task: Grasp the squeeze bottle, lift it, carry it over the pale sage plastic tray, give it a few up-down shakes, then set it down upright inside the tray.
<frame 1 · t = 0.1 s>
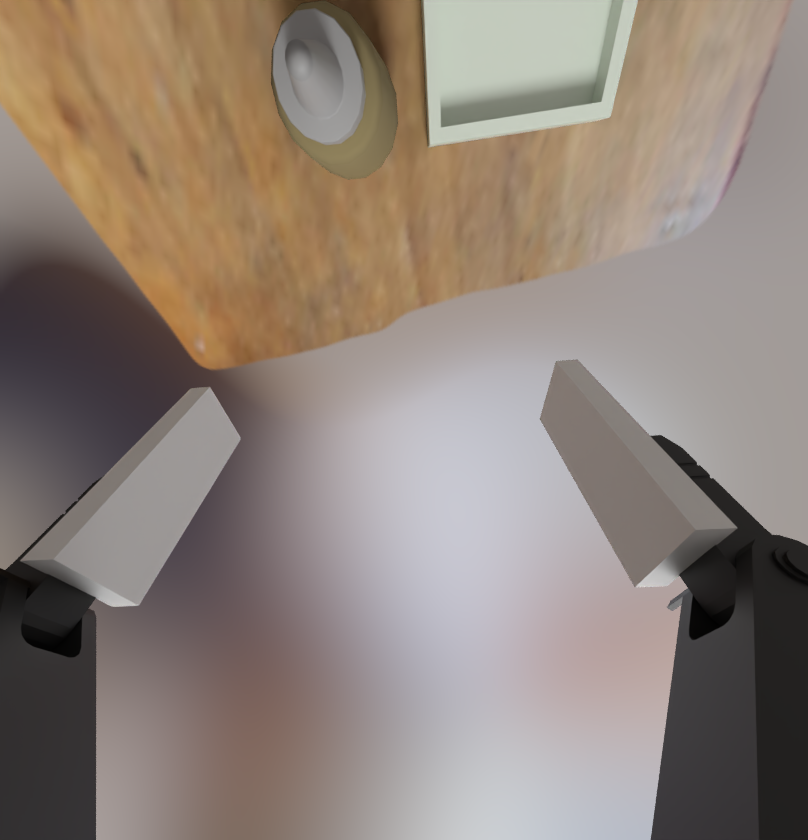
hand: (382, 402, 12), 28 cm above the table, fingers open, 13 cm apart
squeeze bottle: (353, 121, 26), on the table
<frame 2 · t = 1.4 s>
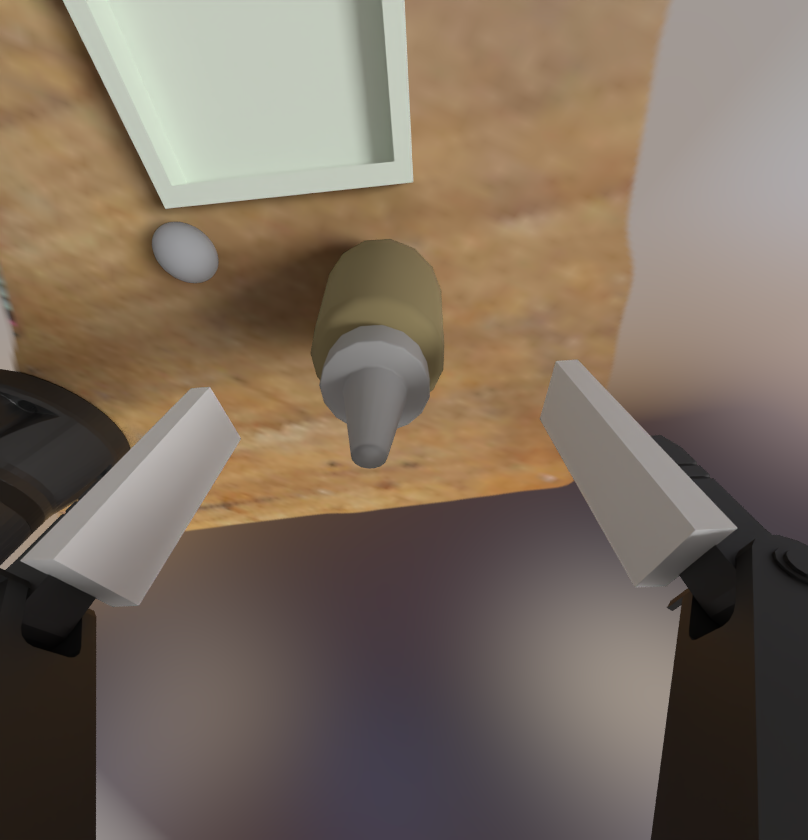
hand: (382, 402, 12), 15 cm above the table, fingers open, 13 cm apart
squeeze bottle: (385, 289, 23), on the table
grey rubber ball: (200, 248, 21), on the table
tray: (250, 3, 15), on the table
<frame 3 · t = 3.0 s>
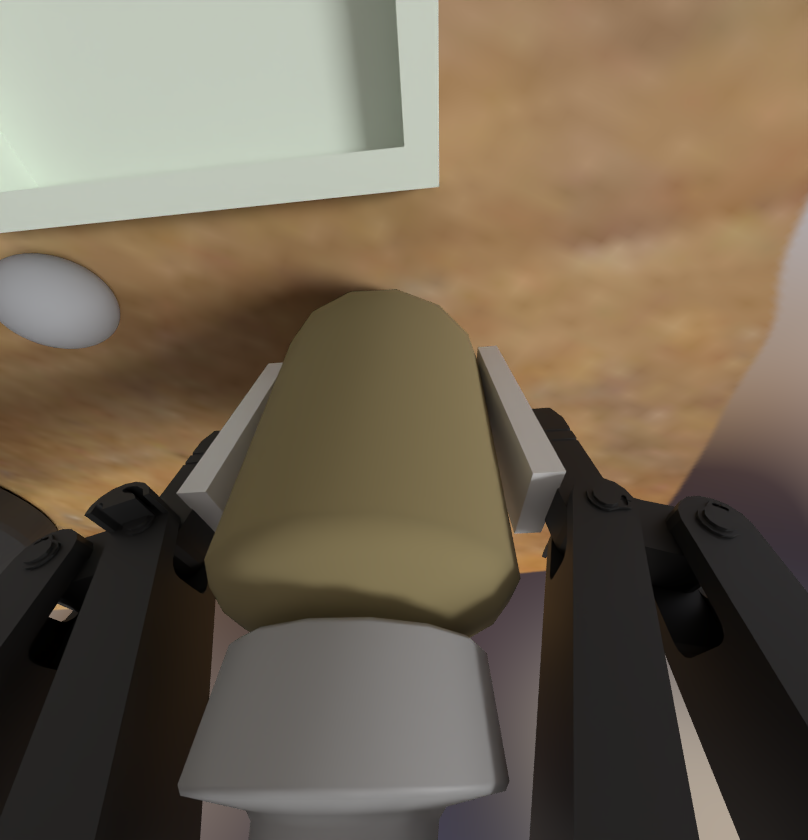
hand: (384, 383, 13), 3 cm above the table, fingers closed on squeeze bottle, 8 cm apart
squeeze bottle: (387, 347, 15), on the table, touching gripper
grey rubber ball: (94, 290, 13), on the table
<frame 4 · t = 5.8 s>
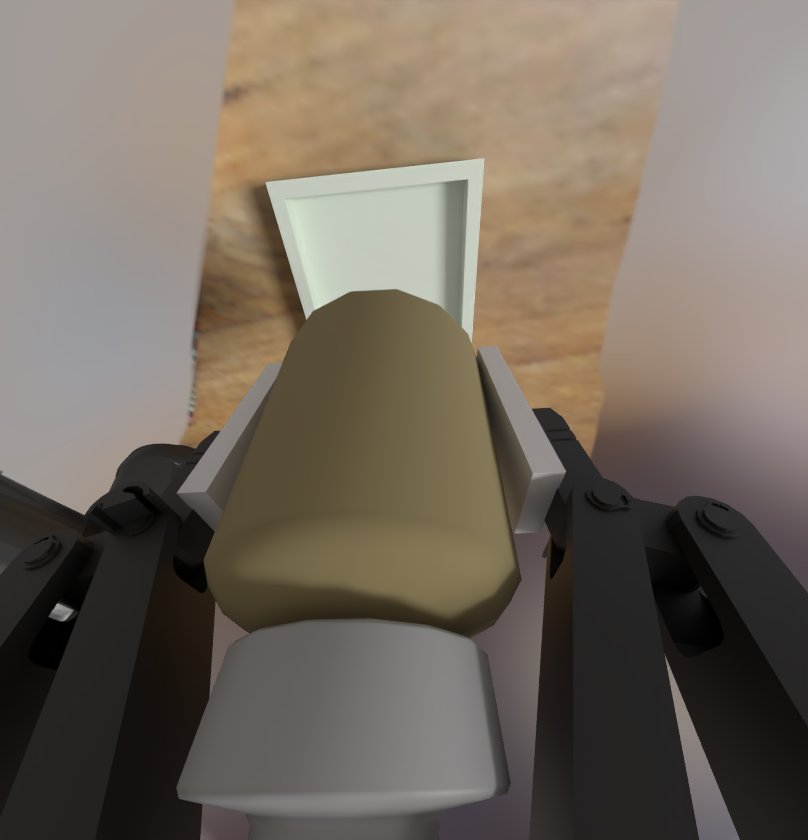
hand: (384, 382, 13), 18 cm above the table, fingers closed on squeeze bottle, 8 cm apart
squeeze bottle: (387, 347, 15), point 14 cm above the table, touching gripper
tray: (387, 279, 27), on the table
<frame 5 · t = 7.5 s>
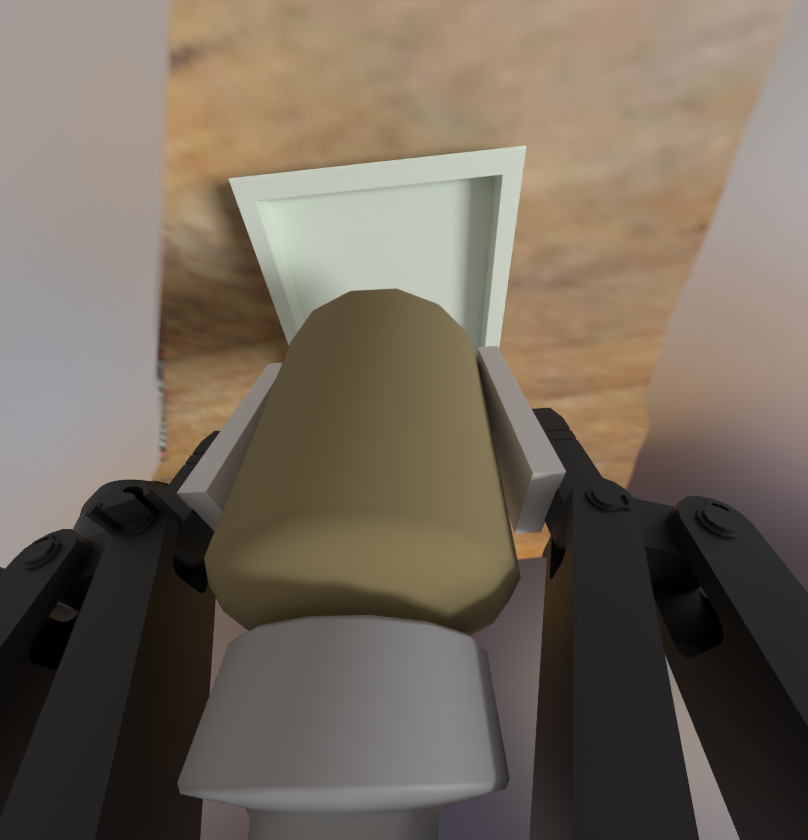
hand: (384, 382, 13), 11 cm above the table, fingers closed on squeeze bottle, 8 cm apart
squeeze bottle: (387, 346, 15), point 8 cm above the table, touching gripper
tray: (391, 300, 21), on the table
when the fingers open (6 cm above the table, at t = 8.8 s): squeeze bottle drops 1 cm, resting on tray.
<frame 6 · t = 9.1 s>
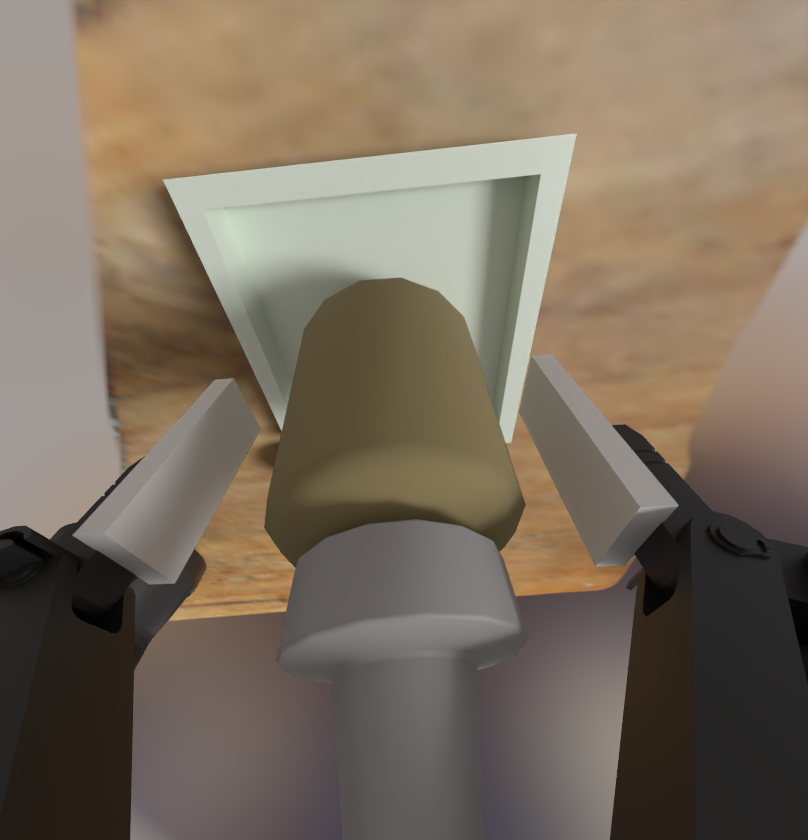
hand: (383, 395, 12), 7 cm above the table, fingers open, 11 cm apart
squeeze bottle: (387, 335, 17), point 1 cm above the table, touching tray
tray: (388, 329, 17), on the table
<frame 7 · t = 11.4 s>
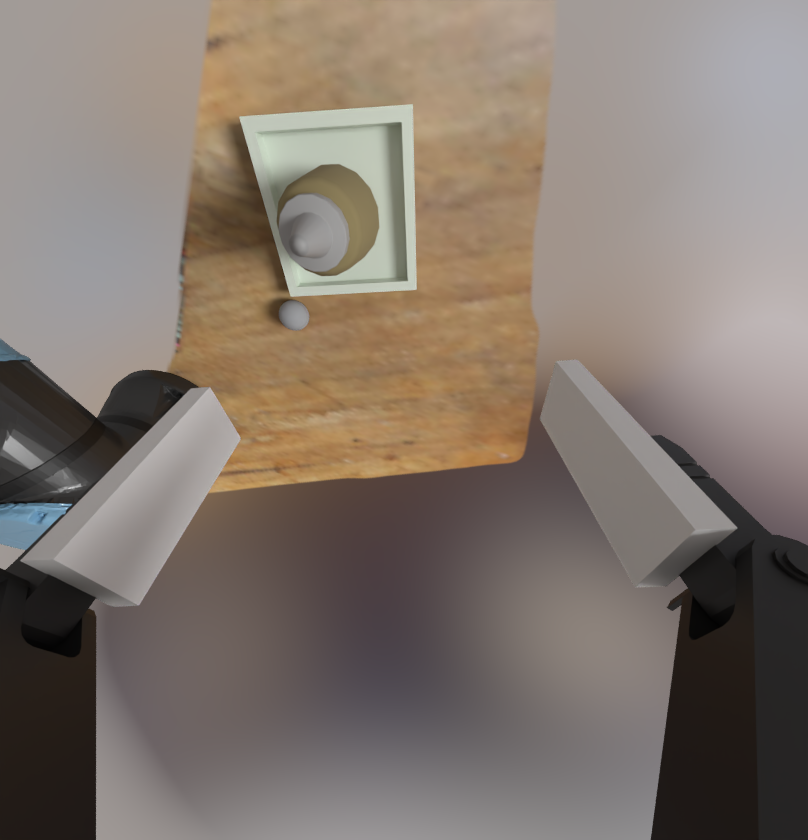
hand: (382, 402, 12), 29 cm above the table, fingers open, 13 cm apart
squeeze bottle: (343, 214, 31), point 1 cm above the table, touching tray
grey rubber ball: (298, 310, 38), on the table
tray: (345, 214, 32), on the table
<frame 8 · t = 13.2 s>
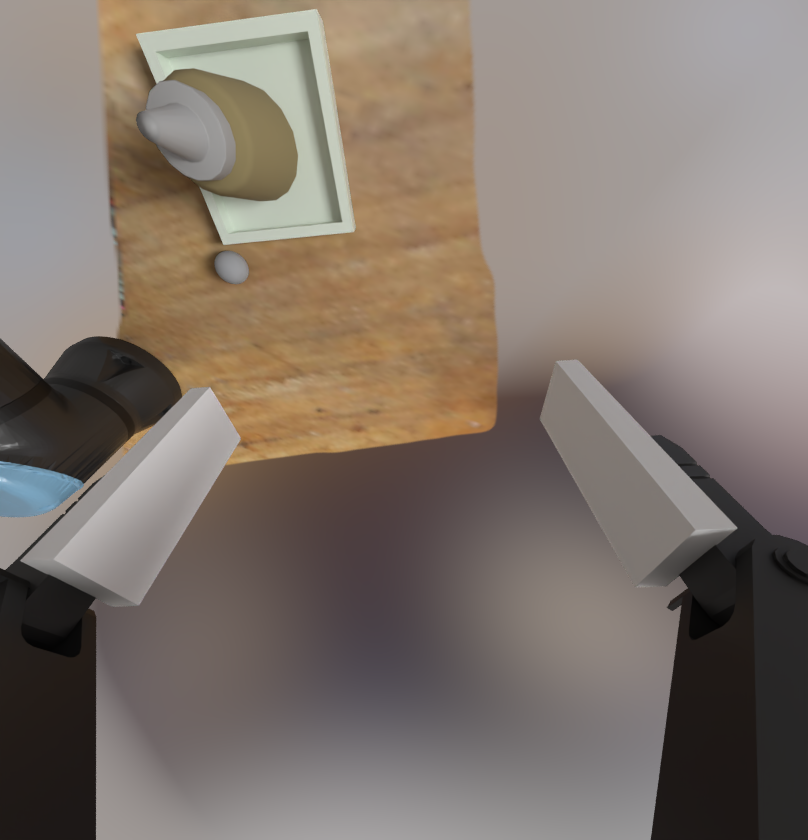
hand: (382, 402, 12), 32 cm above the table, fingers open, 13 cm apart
squeeze bottle: (267, 149, 30), point 1 cm above the table, touching tray
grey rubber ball: (238, 264, 37), on the table
tray: (270, 150, 30), on the table
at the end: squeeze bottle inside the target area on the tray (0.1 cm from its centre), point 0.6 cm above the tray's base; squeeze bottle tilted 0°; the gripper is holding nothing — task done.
